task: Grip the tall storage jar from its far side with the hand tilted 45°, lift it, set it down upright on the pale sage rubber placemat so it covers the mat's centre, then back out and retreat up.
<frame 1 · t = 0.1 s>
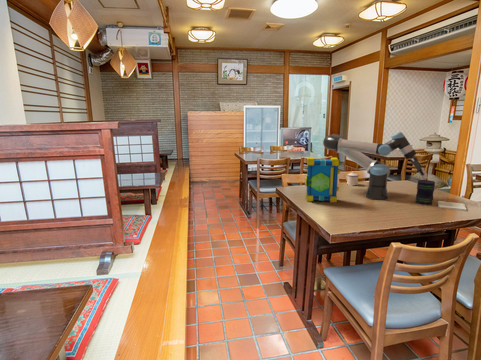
hand: (425, 177, 196), 15 cm above the table, tool tilted 35°, fingers open, 13 cm apart
teacup with lid: (350, 184, 246), on the table
decorative book: (321, 200, 198), on the table
placemat: (451, 206, 180), on the table
storage jar: (423, 203, 188), on the table
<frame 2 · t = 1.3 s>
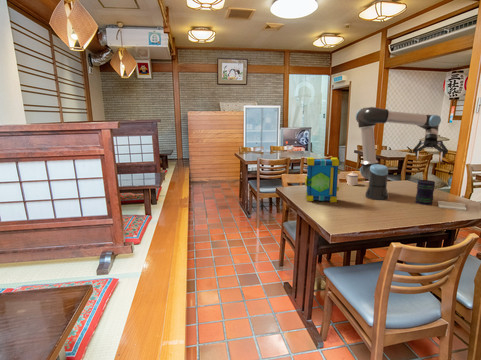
hand: (429, 160, 191), 28 cm above the table, tool tilted 45°, fingers open, 13 cm apart
nothing on the table moved.
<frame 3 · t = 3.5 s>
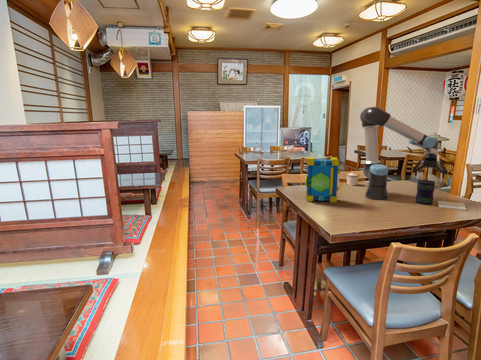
hand: (428, 180, 190), 14 cm above the table, tool tilted 45°, fingers open, 13 cm apart
nothing on the table moved.
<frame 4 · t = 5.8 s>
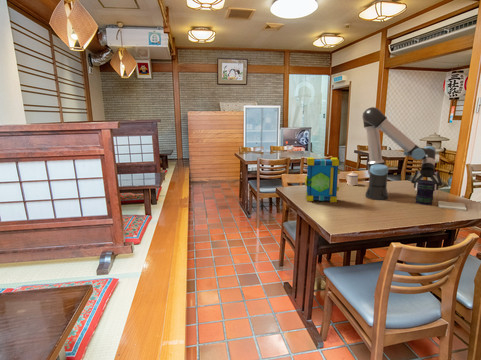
hand: (425, 192, 184), 8 cm above the table, tool tilted 45°, fingers closed on storage jar, 10 cm apart
storage jar: (423, 203, 188), on the table, touching gripper
everything else where it was.
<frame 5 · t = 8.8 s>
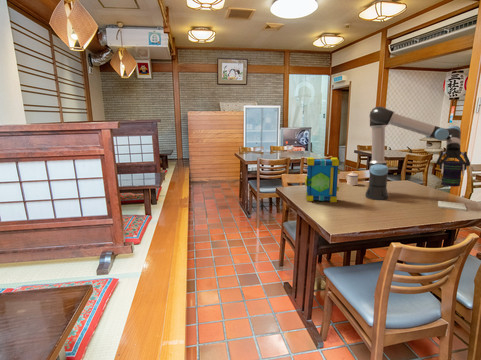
hand: (452, 173, 175), 22 cm above the table, tool tilted 45°, fingers closed on storage jar, 10 cm apart
storage jar: (450, 185, 179), point 14 cm above the table, touching gripper
everything else where it was.
when the fingers open (10 cm above the table, at t = 11.6 s): storage jar stays where it is, resting on placemat.
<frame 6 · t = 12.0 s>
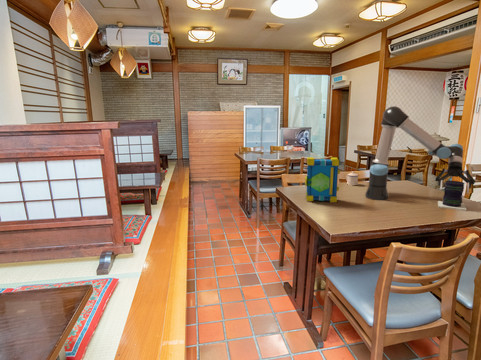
hand: (454, 191, 176), 11 cm above the table, tool tilted 45°, fingers open, 13 cm apart
storage jar: (451, 205, 180), point 1 cm above the table, touching placemat
everything else where it was.
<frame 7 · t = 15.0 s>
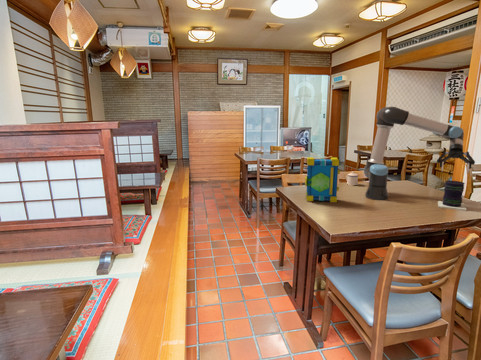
hand: (454, 171, 184), 21 cm above the table, tool tilted 45°, fingers open, 13 cm apart
nothing on the table moved.
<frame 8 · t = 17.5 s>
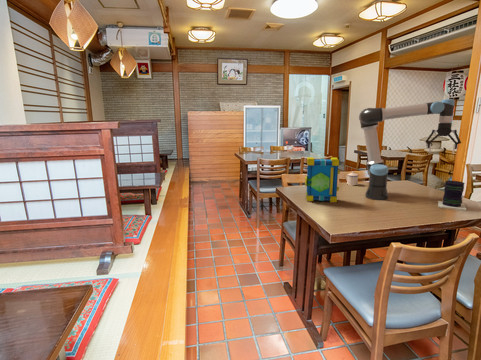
hand: (441, 153, 196), 32 cm above the table, tool pointing down, fingers open, 13 cm apart
nothing on the table moved.
at the end: storage jar inside the target area on the placemat (0.1 cm from its centre), point 0.8 cm above the placemat's base; storage jar tilted 0°; the gripper is holding nothing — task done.
